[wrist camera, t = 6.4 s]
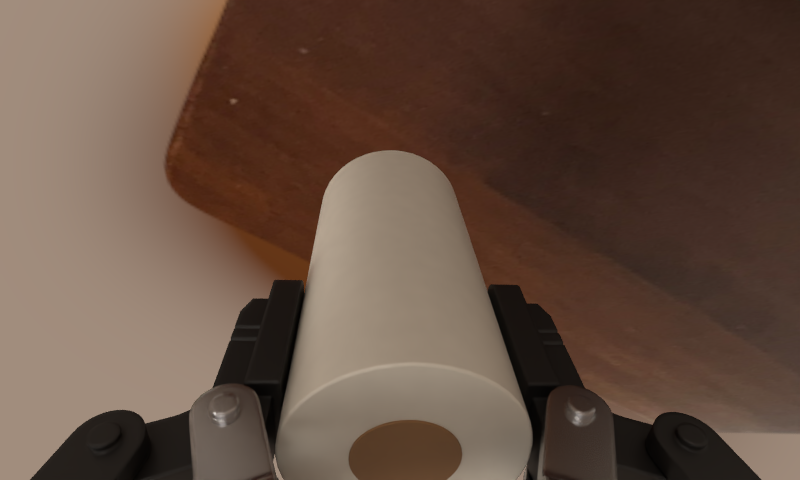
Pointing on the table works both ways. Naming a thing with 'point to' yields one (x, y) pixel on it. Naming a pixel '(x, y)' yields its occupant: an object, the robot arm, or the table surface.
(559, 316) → the table surface
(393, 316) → the paper roll
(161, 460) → the robot arm
